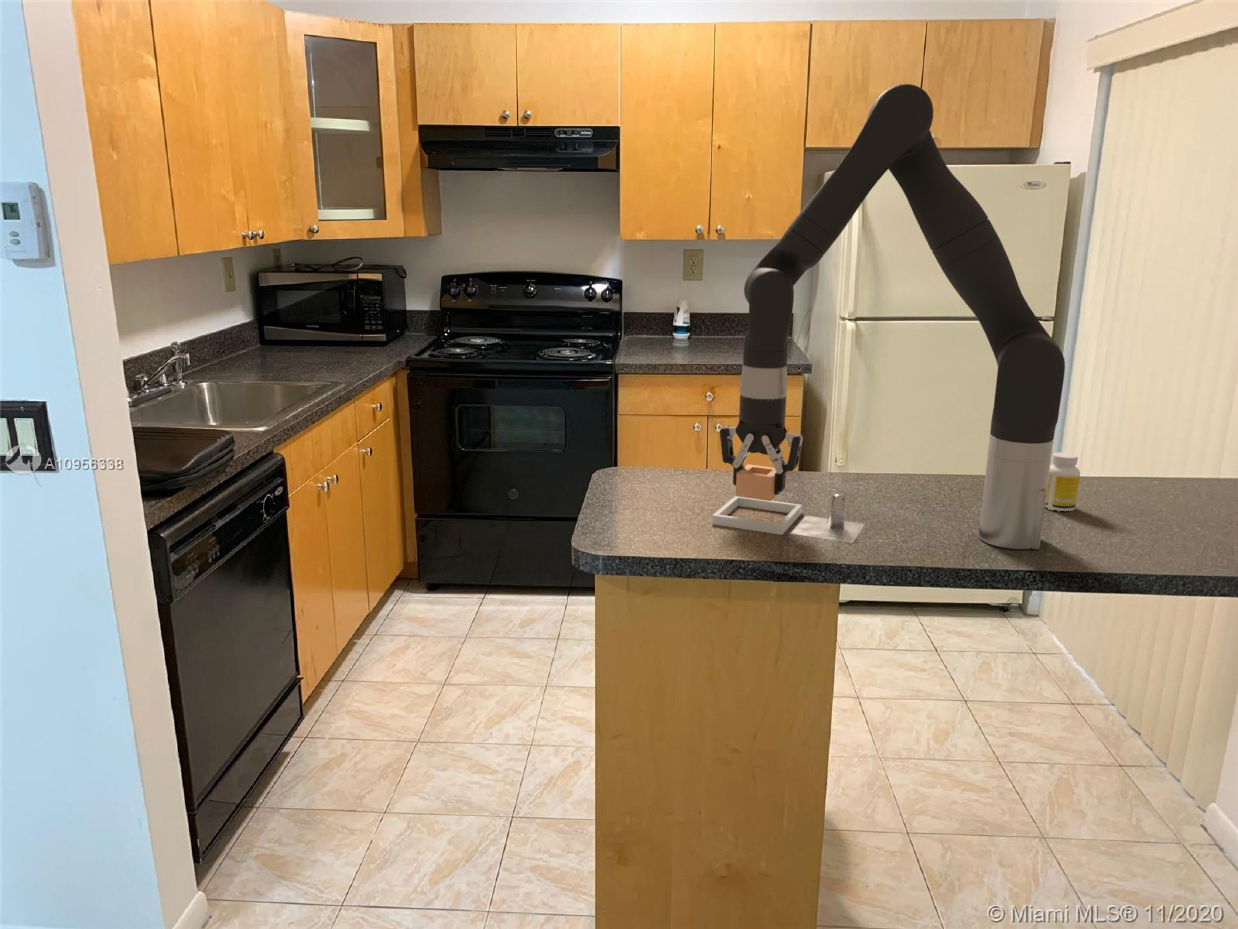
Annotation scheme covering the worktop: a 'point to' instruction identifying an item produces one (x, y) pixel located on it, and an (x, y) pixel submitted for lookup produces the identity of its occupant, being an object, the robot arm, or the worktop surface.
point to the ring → (756, 482)
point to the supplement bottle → (1063, 482)
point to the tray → (757, 525)
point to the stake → (830, 523)
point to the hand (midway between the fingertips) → (758, 490)
